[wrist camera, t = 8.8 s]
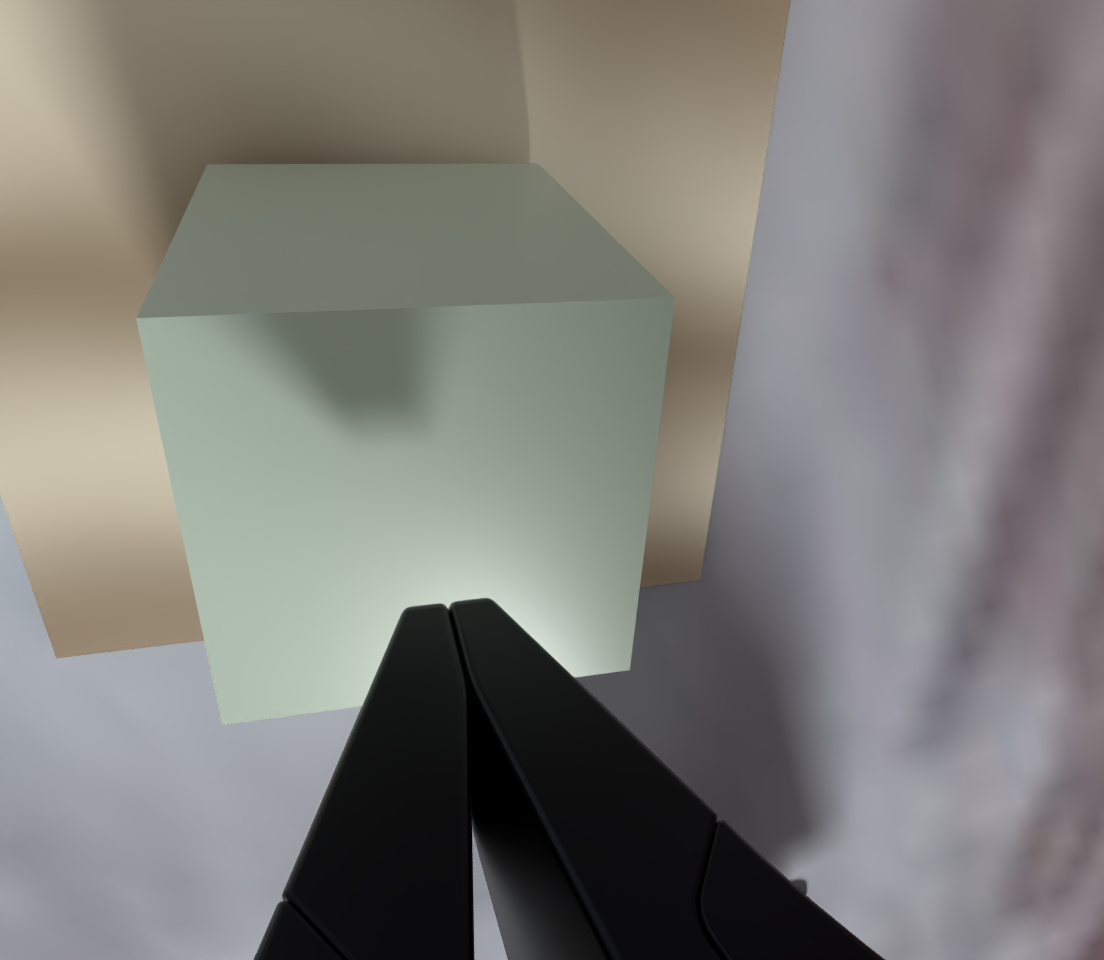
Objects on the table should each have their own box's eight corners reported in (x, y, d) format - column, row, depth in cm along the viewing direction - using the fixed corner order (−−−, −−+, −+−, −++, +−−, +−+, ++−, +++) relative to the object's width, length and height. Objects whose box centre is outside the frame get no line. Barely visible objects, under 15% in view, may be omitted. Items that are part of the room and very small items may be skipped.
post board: (691, 565, 21) (700, 580, 21) (63, 638, 18) (56, 658, 18) (794, -136, 14) (812, -139, 14) (-218, -204, 11) (-244, -212, 11)
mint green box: (528, 438, 17) (629, 670, 12) (252, 458, 16) (221, 725, 11) (538, 163, 15) (675, 298, 9) (207, 164, 13) (137, 318, 8)
